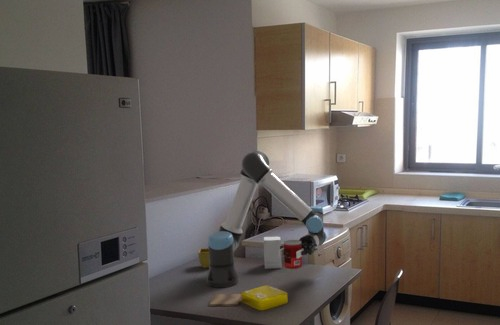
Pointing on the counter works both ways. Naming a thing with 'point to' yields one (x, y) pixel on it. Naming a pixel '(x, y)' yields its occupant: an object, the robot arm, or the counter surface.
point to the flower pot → (204, 257)
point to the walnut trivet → (225, 300)
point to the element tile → (264, 297)
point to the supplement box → (272, 252)
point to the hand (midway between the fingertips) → (288, 254)
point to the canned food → (292, 254)
